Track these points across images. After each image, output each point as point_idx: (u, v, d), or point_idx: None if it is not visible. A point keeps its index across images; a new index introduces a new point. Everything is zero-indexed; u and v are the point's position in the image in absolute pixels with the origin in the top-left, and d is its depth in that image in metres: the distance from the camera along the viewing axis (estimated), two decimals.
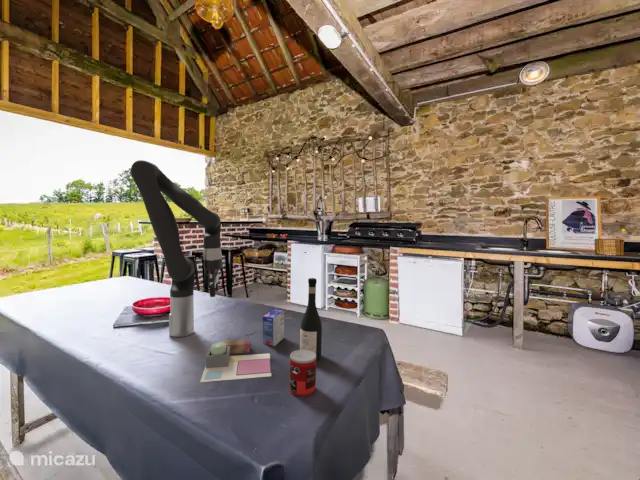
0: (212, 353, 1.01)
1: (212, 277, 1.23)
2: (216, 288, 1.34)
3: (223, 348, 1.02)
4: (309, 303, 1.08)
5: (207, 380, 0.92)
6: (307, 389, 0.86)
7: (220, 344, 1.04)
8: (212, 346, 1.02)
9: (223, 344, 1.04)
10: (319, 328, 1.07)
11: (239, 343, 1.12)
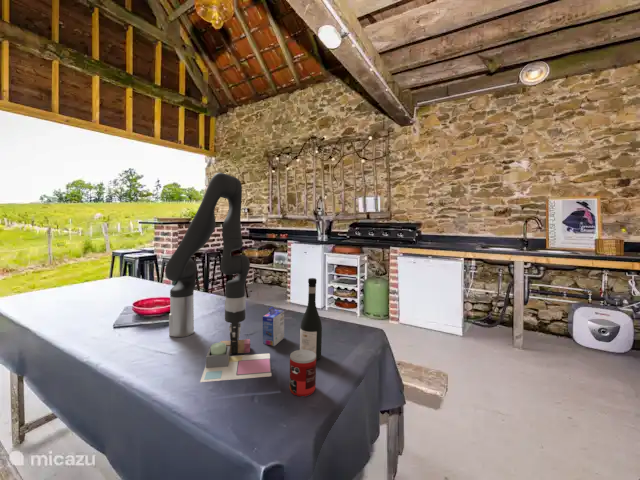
0: (212, 353, 1.01)
1: (235, 336, 1.06)
2: None
3: (223, 348, 1.02)
4: (309, 303, 1.08)
5: (207, 380, 0.92)
6: (307, 389, 0.86)
7: (220, 344, 1.04)
8: (212, 346, 1.02)
9: (223, 344, 1.04)
10: (319, 328, 1.07)
11: (239, 342, 1.12)
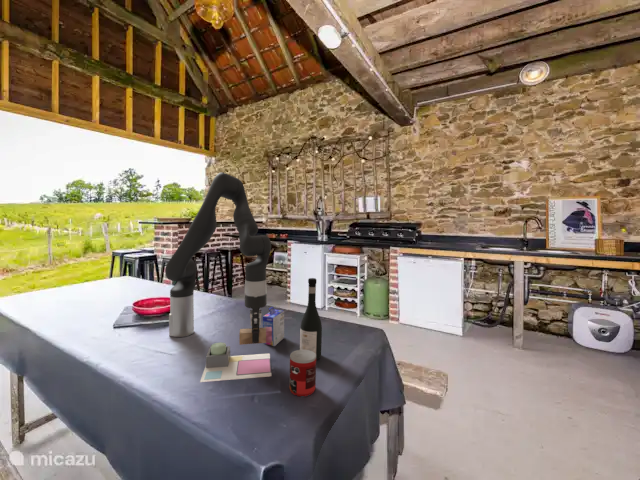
0: (212, 353, 1.01)
1: (257, 323, 0.97)
2: None
3: (223, 348, 1.02)
4: (309, 303, 1.08)
5: (207, 380, 0.92)
6: (307, 389, 0.86)
7: (220, 344, 1.04)
8: (212, 346, 1.02)
9: (223, 344, 1.04)
10: (319, 328, 1.07)
11: (261, 330, 1.03)
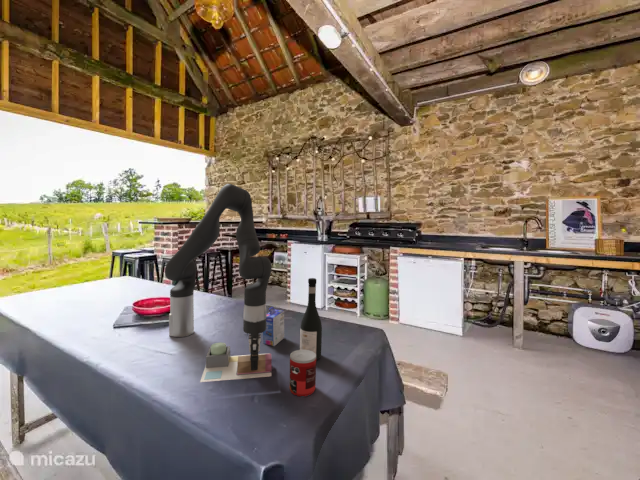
0: (212, 353, 1.01)
1: (256, 349, 0.92)
2: None
3: (223, 348, 1.02)
4: (309, 303, 1.08)
5: (207, 380, 0.92)
6: (307, 389, 0.86)
7: (220, 344, 1.04)
8: (212, 346, 1.02)
9: (223, 344, 1.04)
10: (319, 328, 1.07)
11: (260, 358, 0.99)
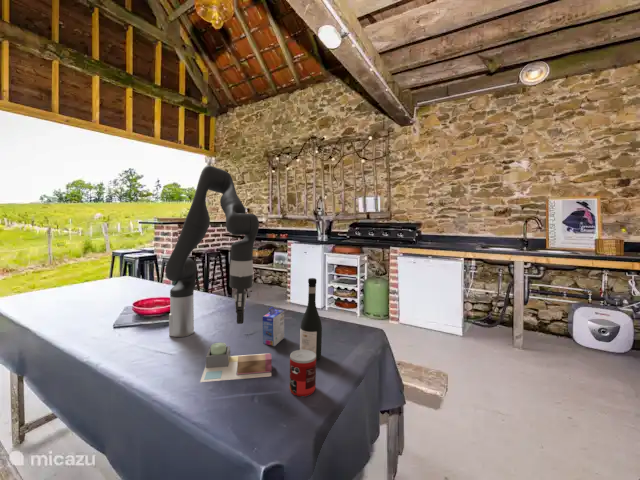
0: (212, 353, 1.01)
1: (241, 306, 0.94)
2: None
3: (223, 348, 1.02)
4: (309, 303, 1.08)
5: (207, 380, 0.92)
6: (307, 389, 0.86)
7: (220, 344, 1.04)
8: (212, 346, 1.02)
9: (223, 344, 1.04)
10: (319, 328, 1.07)
11: (260, 358, 0.99)
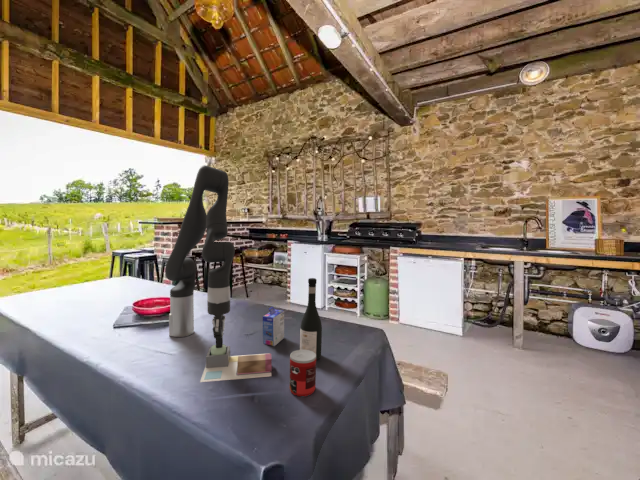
0: None
1: (218, 331, 0.97)
2: None
3: (223, 350, 1.02)
4: (309, 303, 1.08)
5: (207, 380, 0.92)
6: (307, 389, 0.86)
7: None
8: (212, 348, 1.02)
9: (223, 346, 1.04)
10: (319, 328, 1.07)
11: (260, 358, 0.99)
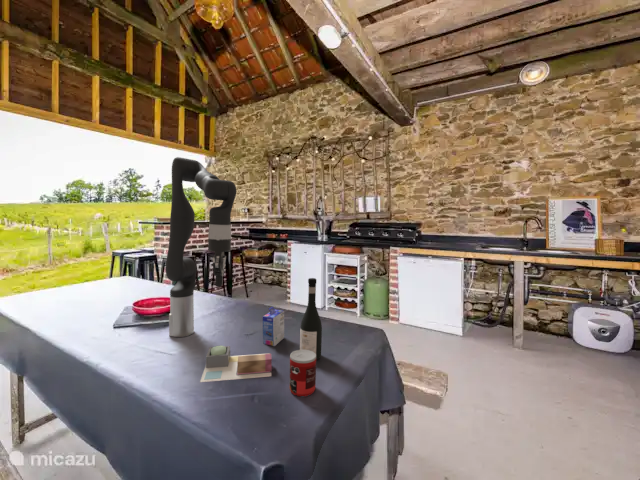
0: None
1: (218, 267, 0.98)
2: None
3: (223, 351, 1.02)
4: (309, 303, 1.08)
5: (207, 380, 0.92)
6: (307, 389, 0.86)
7: (220, 347, 1.04)
8: (212, 349, 1.02)
9: (223, 347, 1.04)
10: (319, 328, 1.07)
11: (260, 358, 0.99)
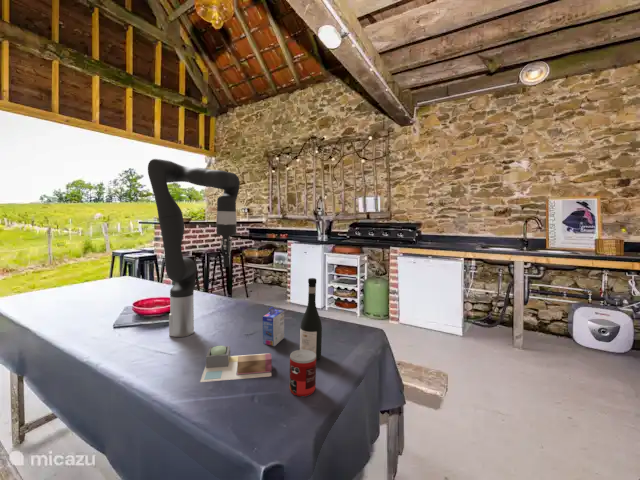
0: None
1: (226, 248, 1.11)
2: None
3: (223, 351, 1.02)
4: (309, 303, 1.08)
5: (207, 380, 0.92)
6: (307, 389, 0.86)
7: (220, 347, 1.04)
8: (212, 349, 1.02)
9: (223, 347, 1.04)
10: (319, 328, 1.07)
11: (260, 358, 0.99)
